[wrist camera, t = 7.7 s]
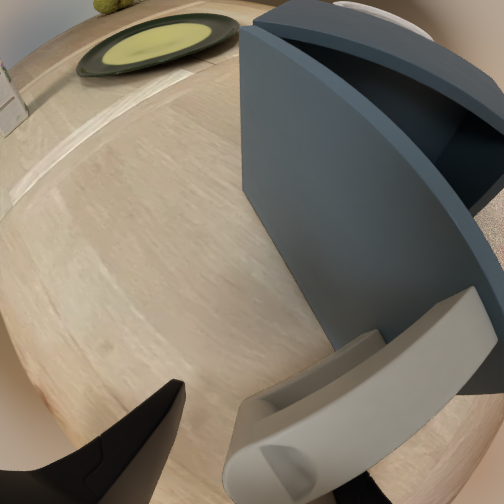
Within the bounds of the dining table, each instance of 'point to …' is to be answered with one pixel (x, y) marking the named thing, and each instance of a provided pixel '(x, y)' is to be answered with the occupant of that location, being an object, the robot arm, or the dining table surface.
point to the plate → (156, 43)
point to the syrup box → (10, 104)
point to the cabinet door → (355, 280)
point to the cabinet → (409, 89)
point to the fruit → (110, 5)
